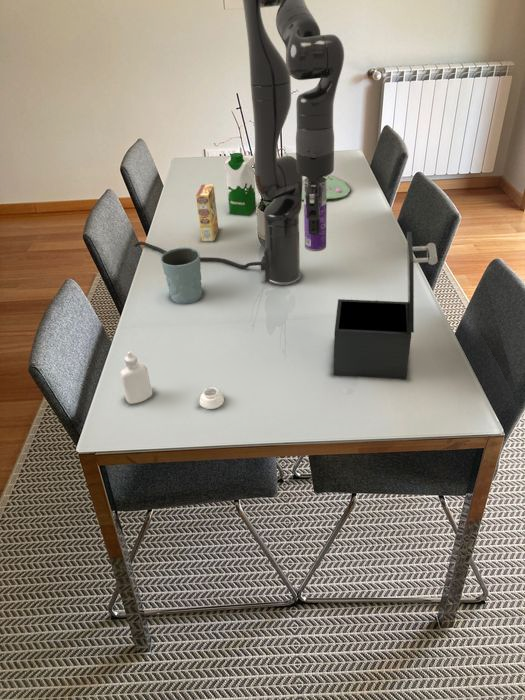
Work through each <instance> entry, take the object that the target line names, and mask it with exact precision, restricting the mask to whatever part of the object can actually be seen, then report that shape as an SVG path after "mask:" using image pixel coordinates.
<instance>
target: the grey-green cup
mask: <svg viewBox="0 0 525 700" xmlns="http://www.w3.org/2000/svg"><path fill="white" fill-rule="evenodd" d="M166 251H167V252H165V253H162V255H161V256H160V263H161V266H162V270H163V274H164V275H165V280H166V283H167V287H168V291H169V296H170V298H171V300H172V301H173V302H174V303H177V304H182V305H183V304H193V303H195V302H197V301H199V300H200V299H201V297H203V287H202V286H203V285H202V272H201V270H202V268H201V261H200V257H201V253H200V252H199V250H197V249H196V248H193V247H188V246H187V247H186V246H185V247H184V246H183V247H177V248H176V247H175V248H171V249H169V250H166Z"/></svg>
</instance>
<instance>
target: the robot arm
mask: <svg viewBox="0 0 525 700" xmlns="http://www.w3.org/2000/svg"><path fill="white" fill-rule="evenodd" d="M242 4H243V12H244V20H245V27H246V28H245V29H246V34H247V45H248V58H249V59H248V60H249V79H250V90H251V91H250V95H251V104H252V114H253V124H254V125H253V127H254V180H255V187H256V189H257V192H258V194H259V195H260V197H261V198H262V199H264V200H266V201H271V200H272V201H271V202H270V203H269V204H268V205H267V206H266V207H265V208H264V211H263V224H264V225H263V227H264V241H265V242H264V245H265V247H264V250H263V256H262V258H261V260H260V261H252V262H247V263H246V264H239V263H236V262H235V261H232V260H230V259H226V258H221V257H208V256H207V257H205V256H204V257H203V256H200V262H220V263H224V264H228V265H231V266H233V267H236V268H238V269H247V268H250V267H254V266H260V271H261V272H264V273H265V274H264V275H265V282H266V283H270V284H274V285H276V286H277V285H278V286H289V285H291V284H294V283H296V282H298V281H300V279H301V257H300V255H301V253H300V246H301V245H300V244H301V243H300V214H301V211H302V208H303V200H302V187H303V181H304V180H303V177H305V178H308V185H307V184H306V183H305V192H306V195H305V198H306V211H307V215H306V217H307V219H309V234H311V235H318V234H319V231H320V215H321V214H320V207H321V206H322V205H323V192H324V184H322V185H321V186H320V180H321V177H325V176H328V175H329V176H331V174H332V173H334V169H335V131H334V130H335V129H334V104H335V103H334V102H335V97H336V93H337V89H338V84H339V82H340V81H339V80H340V76H341V74H342V71H343V66H344V61H345V49H344V45H343V42H342V40H341V39H340V38H339V37H338V36H337V35H336V34H331V33H329V34H321V29H320V26H319V24H318V22H317V21H316V19H315V18H314V16H313V14H312V13H311V11H310V9H309V8H308V6H307V4H306V1H305V0H242ZM270 7H271V8H272V7H273V8H274V7H278V9H277V12H276V16H275V26H276V30H277V32H278V34H279V37H280V39H281V40H282V42H283V44H284V46H285V60H284V58H283V56H282V54H281V53H280V51H279V50H278V49H277V47H276V46H275V44H274V42H273V41H272V40H271V37H270V36H269V34H268V32H267V29H266V28H265V24H264V22H263V21H264V20H263V17H262V13H261V12H262V11H261V9H263V8H270ZM291 78H293V79H295V80H298V81H308V80H316V79H319V81H318V83H317V84H316V86H315V87H313V88H311V89H308V90H306V91H304V92H302V93H300V94H298V96H297V98H296V105H295V106H296V107H295V109H296V133H295V157H294V156H292V155H284V156H279V157H278V142H279V138H280V136H281V132H282V130H283V128H284V125H285V123H286V120H287V118H288V115H289V113H290V110H291V105H292V81H291ZM319 198H320V202H319ZM311 210H316V212H311ZM139 246H144V247H147V248H150V249H152V250H156V251H158V252H160V253H162V254H164V253H165V252H167V251H168V250H164V249H163V248H160V247H158V246H156V245H153V244H150V243H148V242H145V241H137V242H135V243H134V245H133V247H135V248H136V247H139Z"/></svg>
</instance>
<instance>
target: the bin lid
mask: <svg viewBox="0 0 525 700" xmlns="http://www.w3.org/2000/svg"><path fill="white" fill-rule="evenodd" d="M436 247H437V246H436V244H435V243H434V242H429V243H427V244H426V245H419V246H418V245H416V246H413V235H412V231H406V250H407V251H406V254H407V255H406V257H407V259H406V262H407V268H406V269H407V270H406V271H407V302H408V313H409V330H410V333H411V334H414V333H415V331H414V329H415V327H414V326H415V324H414V323H415V313H414V312H415V311H414V310H415V307H414V305H415V303H414V301H415V300H414V299H415V298H414V296H415V295H414V294H415V293H414V290H415V289H414V287H415V286H414V285H415V283H414V282H415V281H414V279H415V277H414V276H415V275H414V272H415V271H414V267H415V264H420V263H428V264H429V265H432V266H433V265H436V264H437V263H438V255H437V253H438V252H437V248H436ZM421 251H426V257H414V252H421Z"/></svg>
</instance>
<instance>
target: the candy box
mask: <svg viewBox="0 0 525 700" xmlns="http://www.w3.org/2000/svg"><path fill="white" fill-rule="evenodd" d="M195 198H196V208H197V214H198V220H199V229H200V236H201V242H215V239H216V237H217V235H218V232H219V230H220V229H219V221H218V213H217V202H216V193H215V185H214V184H201V186H200V188H199V189H198V191H197V194H196V195H195Z"/></svg>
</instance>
